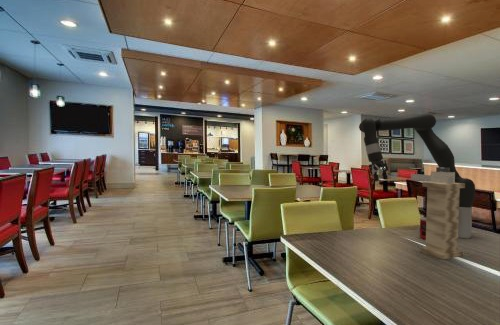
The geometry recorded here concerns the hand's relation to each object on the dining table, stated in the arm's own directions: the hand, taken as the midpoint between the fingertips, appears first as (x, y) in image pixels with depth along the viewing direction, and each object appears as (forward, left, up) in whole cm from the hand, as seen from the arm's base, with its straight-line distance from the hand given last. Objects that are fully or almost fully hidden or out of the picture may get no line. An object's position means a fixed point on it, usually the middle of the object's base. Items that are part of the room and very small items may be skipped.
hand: (381, 180), depth 152 cm
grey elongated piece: (-4, +25, +2) cm, 26 cm away
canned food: (-21, +13, -32) cm, 40 cm away
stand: (-4, +31, -31) cm, 44 cm away
